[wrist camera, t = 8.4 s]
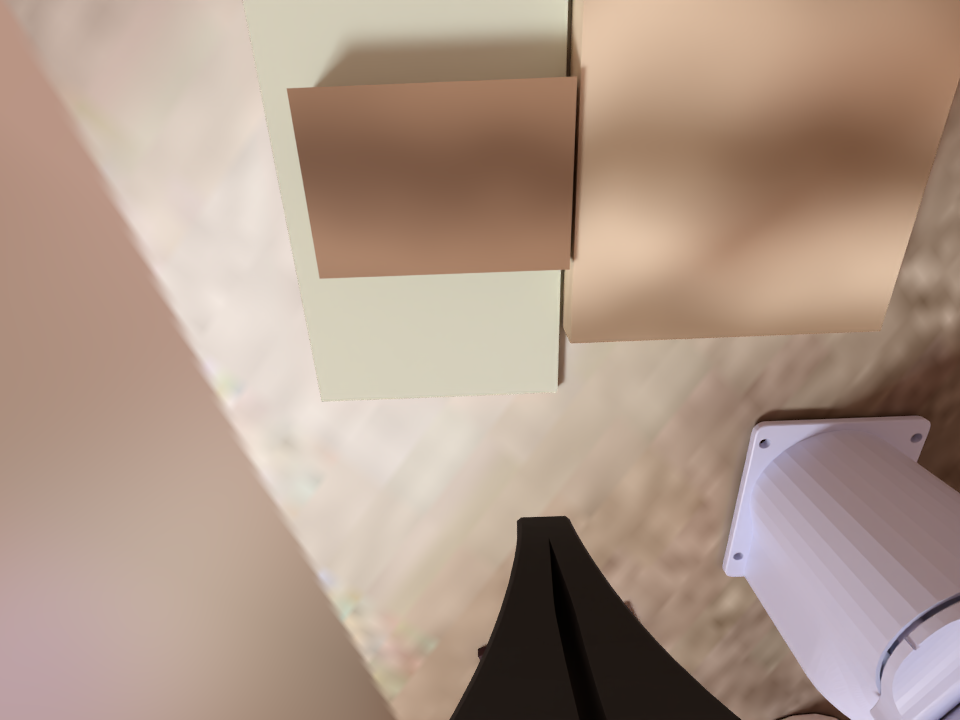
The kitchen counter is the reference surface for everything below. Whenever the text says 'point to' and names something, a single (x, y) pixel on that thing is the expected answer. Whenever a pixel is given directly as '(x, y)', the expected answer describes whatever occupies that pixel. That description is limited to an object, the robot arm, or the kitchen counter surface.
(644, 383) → the kitchen counter surface
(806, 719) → the white cup
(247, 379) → the kitchen counter surface
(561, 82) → the walnut tile
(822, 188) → the block
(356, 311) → the sage mat
